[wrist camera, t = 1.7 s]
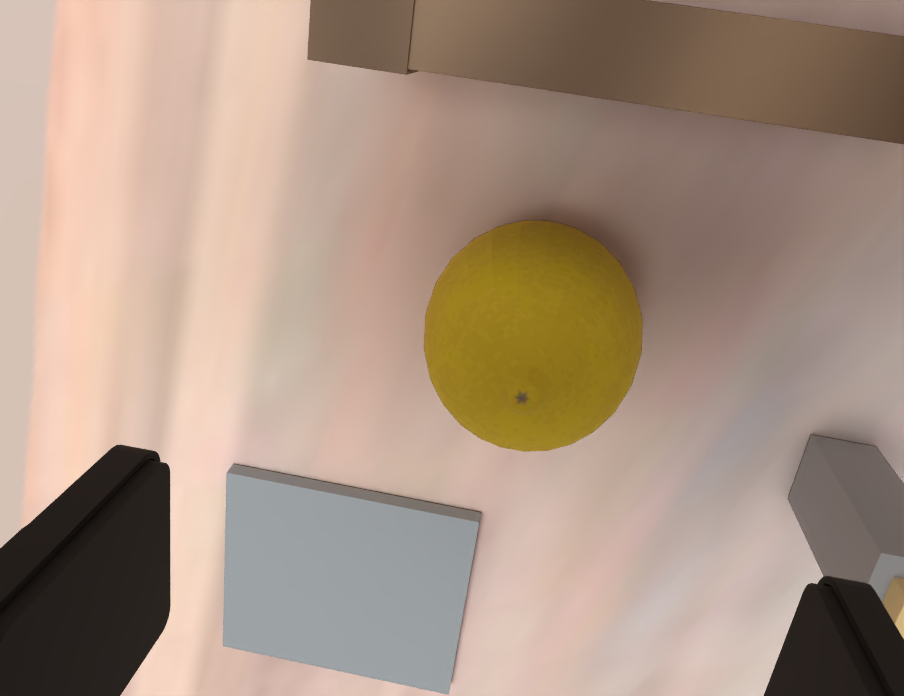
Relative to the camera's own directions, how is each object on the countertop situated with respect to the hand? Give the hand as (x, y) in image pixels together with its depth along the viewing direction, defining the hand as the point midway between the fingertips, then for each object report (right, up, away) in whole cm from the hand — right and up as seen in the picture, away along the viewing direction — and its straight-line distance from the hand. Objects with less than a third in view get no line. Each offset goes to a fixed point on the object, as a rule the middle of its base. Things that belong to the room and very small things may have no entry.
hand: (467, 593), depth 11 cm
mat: (-4, -5, +18) cm, 19 cm away
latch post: (+12, 0, +13) cm, 18 cm away
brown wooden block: (+4, +11, +9) cm, 15 cm away
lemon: (+2, +6, +13) cm, 14 cm away
